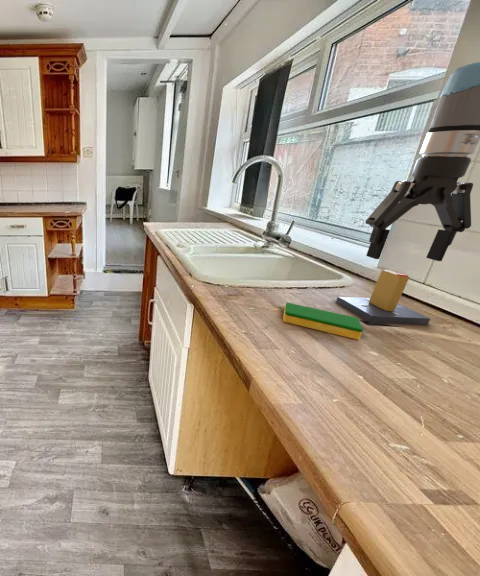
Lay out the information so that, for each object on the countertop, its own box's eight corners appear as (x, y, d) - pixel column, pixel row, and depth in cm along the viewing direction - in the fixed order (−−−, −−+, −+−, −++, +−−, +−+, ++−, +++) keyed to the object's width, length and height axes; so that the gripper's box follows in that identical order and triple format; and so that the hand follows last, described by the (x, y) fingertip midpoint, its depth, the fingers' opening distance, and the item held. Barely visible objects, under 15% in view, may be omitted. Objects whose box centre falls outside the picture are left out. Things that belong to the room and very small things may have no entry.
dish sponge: (283, 310, 75) (286, 301, 74) (354, 327, 68) (358, 317, 68) (282, 321, 69) (285, 312, 68) (359, 340, 63) (363, 330, 62)
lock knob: (368, 302, 76) (382, 268, 73) (376, 302, 76) (390, 269, 73) (385, 310, 71) (401, 275, 68) (394, 311, 71) (410, 275, 68)
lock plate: (384, 307, 79) (388, 298, 78) (426, 328, 69) (431, 317, 68) (334, 305, 80) (337, 295, 79) (368, 325, 69) (372, 315, 68)
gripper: (398, 153, 58) (359, 261, 66) (532, 157, 58) (478, 265, 65) (366, 155, 65) (335, 252, 73) (486, 158, 64) (442, 255, 72)
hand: (402, 258), depth 69 cm, fingers open, 13 cm apart
